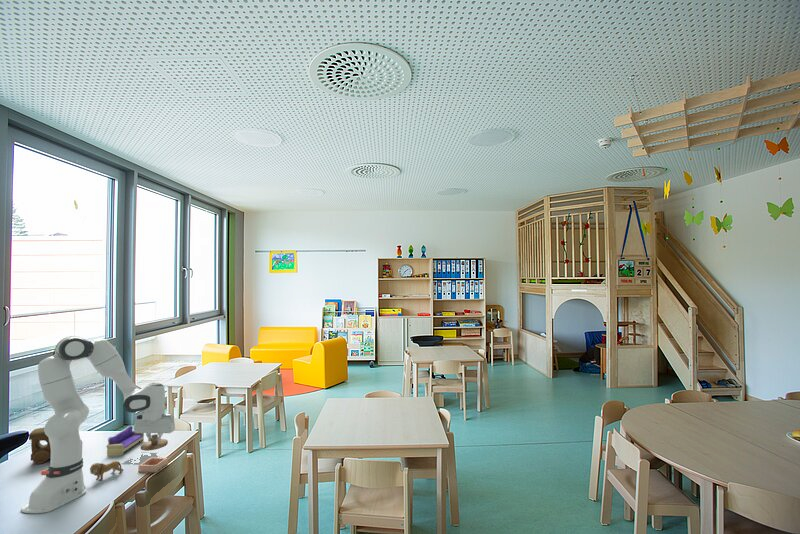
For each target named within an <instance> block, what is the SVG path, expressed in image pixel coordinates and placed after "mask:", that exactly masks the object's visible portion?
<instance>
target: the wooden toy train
mask: <svg viewBox="0 0 800 534" xmlns="http://www.w3.org/2000/svg"><path fill="white" fill-rule="evenodd" d="M44 427H45V426H43V427H39V428H34V429H33V430H32V431H31V432H30V433H29V434H28V439H29V441H30V442H31V444H30V445H31V454H30V461H32V462H33V463H35V464H37V465H40V464H45V463H47V462H48V461H49V459H51V447H50V442H49V438H48V436H46V434H45V432H44ZM41 441H45V442H46V444H42V442H41Z"/></svg>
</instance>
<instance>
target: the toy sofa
mask: <svg viewBox="0 0 800 534" xmlns="http://www.w3.org/2000/svg"><path fill="white" fill-rule="evenodd" d="M139 441H143V442H144V441H145V433H135V431H134V426H132V425H128V426H127V427H126V428H125V429H122V430H121V431H119V432H118V433H116V434H115V435H113V436H109V437H108V439H107V442H108V443H107V444H106V446H105V447H106V457H110V456H124V452H126V451H128V450H129V449H130V448H132V447H133V446H135V445H137V444H138V443H140V442H139Z"/></svg>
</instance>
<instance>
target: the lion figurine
mask: <svg viewBox="0 0 800 534" xmlns="http://www.w3.org/2000/svg"><path fill="white" fill-rule="evenodd" d="M111 470H112V472H111V473H110V475H114V473H115V472H116V471H118V474H122V473H123V471H124V469H123V468H122V463H121V462H120V461H119V460H118V461H117V460H114V461H111V462H108V463H105V464H104V463H100V462H95V463H93V464H91V466H90V468H89V473H90V474H91V475H94V476H96V477H97V478H95V480H96V481H99V482H101V481H103V479H104V474H105V473H107V472H110V471H111Z"/></svg>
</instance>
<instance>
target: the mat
mask: <svg viewBox="0 0 800 534" xmlns="http://www.w3.org/2000/svg"><path fill="white" fill-rule="evenodd" d="M149 453H150V454H151V456H148V455H144V456H143V454H142V455H141V457H140V459H139V460H140V462H139V463H134V464H133V463H131V462H132V461H131V460H133V459H131V458H132V457H130V458H129V459H130V460H129V459H126V461H124V462H122V463H121V465H130V464H133V466H135V465H137V466H139V465H140V464H142V463H143V462H145V461H146V460H148V459H149V458H151V457H154V458H157V457H158V456H157V455H156V454H157V453H158V452H149ZM158 458H159V457H158ZM137 459H138V458H137ZM129 461H130V462H129ZM134 461H136V460H134Z"/></svg>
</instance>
